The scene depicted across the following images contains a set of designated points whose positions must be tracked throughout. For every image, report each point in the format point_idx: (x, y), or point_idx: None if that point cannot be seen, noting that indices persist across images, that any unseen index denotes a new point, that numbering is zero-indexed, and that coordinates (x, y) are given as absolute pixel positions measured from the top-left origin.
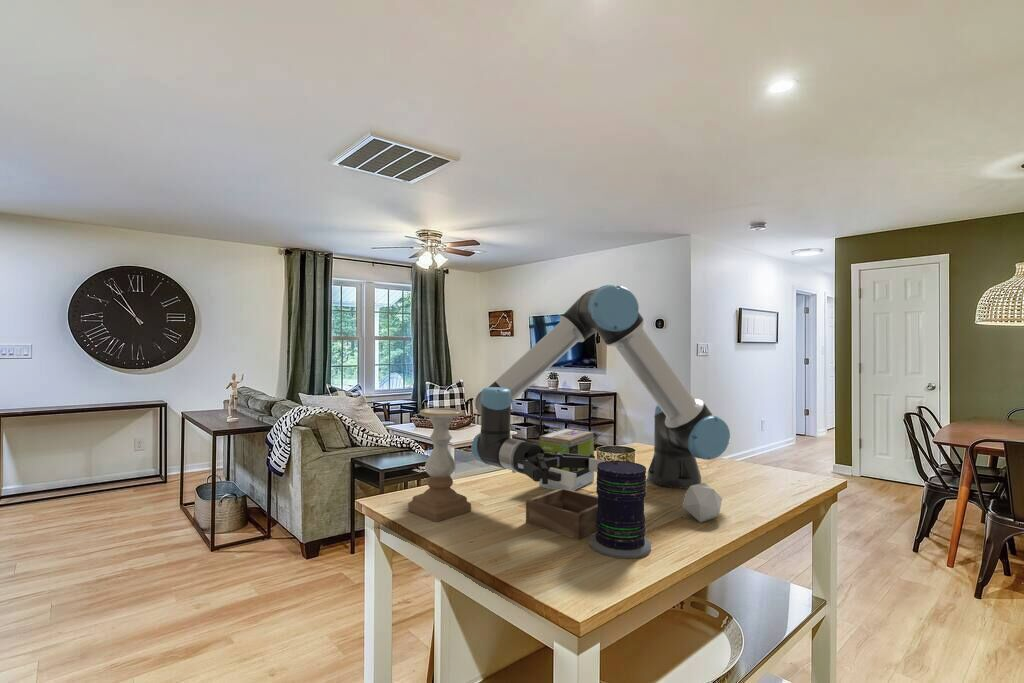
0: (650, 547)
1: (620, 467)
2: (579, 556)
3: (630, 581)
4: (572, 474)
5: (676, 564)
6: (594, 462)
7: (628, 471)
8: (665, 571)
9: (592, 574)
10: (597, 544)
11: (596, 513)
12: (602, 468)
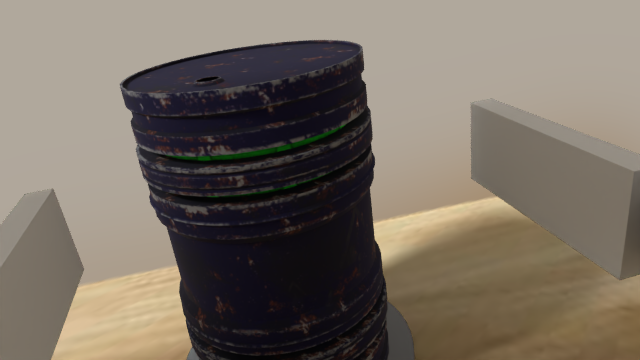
0: None
1: (252, 64)
2: (495, 343)
3: (423, 230)
4: (499, 105)
5: None
6: (3, 313)
7: (276, 50)
8: None
9: (501, 262)
10: (399, 349)
11: (368, 288)
12: (345, 57)
